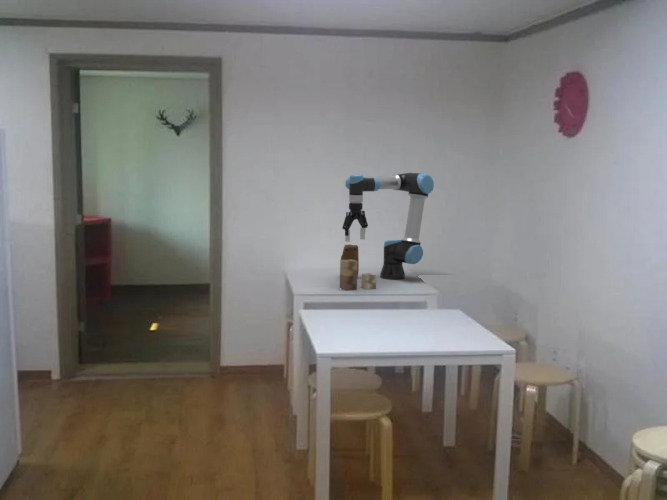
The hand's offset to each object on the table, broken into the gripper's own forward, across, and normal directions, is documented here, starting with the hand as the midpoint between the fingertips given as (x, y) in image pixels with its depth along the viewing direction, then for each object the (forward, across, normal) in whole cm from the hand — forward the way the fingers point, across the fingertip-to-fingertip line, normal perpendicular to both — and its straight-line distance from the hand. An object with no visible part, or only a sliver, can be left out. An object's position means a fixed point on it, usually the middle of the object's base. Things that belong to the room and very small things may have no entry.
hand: (355, 240), depth 405 cm
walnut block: (+27, +6, +1) cm, 27 cm away
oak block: (+19, +6, +1) cm, 20 cm away
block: (+27, -22, -22) cm, 41 cm away
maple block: (+27, -4, +7) cm, 28 cm away
